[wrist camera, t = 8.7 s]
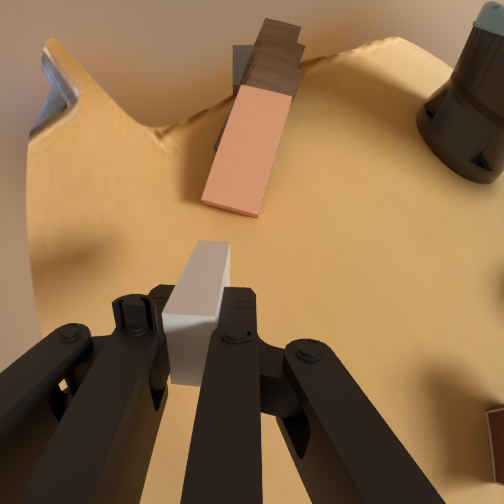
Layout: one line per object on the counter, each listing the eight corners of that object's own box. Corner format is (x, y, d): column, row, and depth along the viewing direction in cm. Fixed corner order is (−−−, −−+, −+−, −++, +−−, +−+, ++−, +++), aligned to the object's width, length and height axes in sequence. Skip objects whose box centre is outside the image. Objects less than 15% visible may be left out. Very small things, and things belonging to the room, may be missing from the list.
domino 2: (233, 97, 36) (232, 55, 41) (271, 97, 37) (264, 55, 42) (232, 85, 35) (232, 45, 40) (272, 85, 35) (265, 45, 40)
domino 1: (239, 89, 35) (264, 26, 35) (278, 99, 35) (298, 35, 35) (240, 81, 33) (265, 17, 33) (281, 92, 33) (301, 27, 33)
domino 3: (231, 116, 33) (265, 42, 33) (273, 130, 33) (302, 54, 33) (231, 108, 31) (266, 33, 31) (276, 123, 31) (305, 45, 31)
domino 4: (216, 153, 30) (260, 66, 31) (262, 170, 30) (301, 80, 31) (213, 146, 28) (260, 56, 29) (262, 164, 28) (304, 71, 29)
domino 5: (204, 204, 28) (242, 94, 29) (257, 218, 28) (290, 106, 28) (201, 199, 26) (241, 84, 27) (257, 214, 26) (292, 96, 26)
